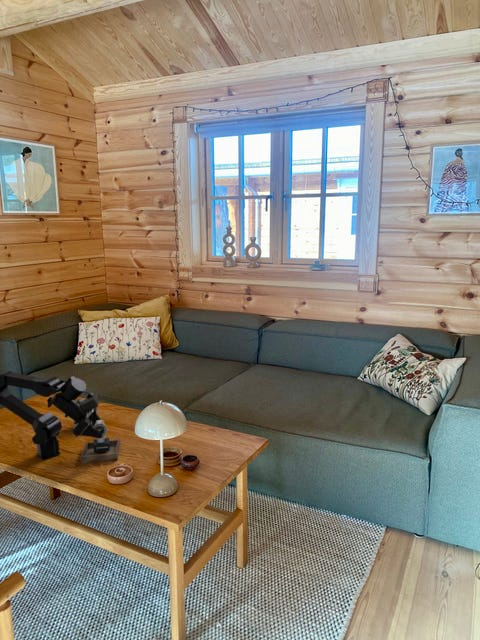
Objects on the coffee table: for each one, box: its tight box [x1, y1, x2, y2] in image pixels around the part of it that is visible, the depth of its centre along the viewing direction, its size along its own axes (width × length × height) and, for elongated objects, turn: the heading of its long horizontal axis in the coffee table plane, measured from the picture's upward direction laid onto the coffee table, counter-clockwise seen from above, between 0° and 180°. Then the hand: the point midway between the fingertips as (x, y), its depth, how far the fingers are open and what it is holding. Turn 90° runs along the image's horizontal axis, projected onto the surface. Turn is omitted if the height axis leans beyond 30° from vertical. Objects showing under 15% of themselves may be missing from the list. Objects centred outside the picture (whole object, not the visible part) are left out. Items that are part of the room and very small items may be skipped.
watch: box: [93, 419, 110, 453], centre depth 171 cm, size 6×8×11 cm
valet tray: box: [80, 438, 122, 465], centre depth 172 cm, size 13×12×3 cm
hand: (103, 432), depth 171 cm, fingers closed on watch, 8 cm apart
